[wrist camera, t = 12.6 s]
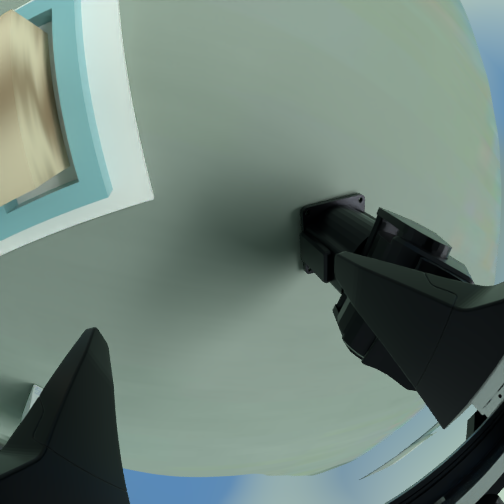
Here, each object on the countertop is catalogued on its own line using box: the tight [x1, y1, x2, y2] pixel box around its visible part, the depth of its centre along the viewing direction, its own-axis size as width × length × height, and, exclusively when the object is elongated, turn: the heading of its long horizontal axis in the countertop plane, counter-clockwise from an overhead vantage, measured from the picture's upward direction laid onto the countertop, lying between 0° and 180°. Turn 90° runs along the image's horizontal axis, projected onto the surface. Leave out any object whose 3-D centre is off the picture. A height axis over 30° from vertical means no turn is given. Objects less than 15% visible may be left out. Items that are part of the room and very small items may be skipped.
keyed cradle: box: [0, 0, 154, 256], centre depth 11 cm, size 14×18×3 cm
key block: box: [0, 9, 70, 207], centre depth 9 cm, size 10×4×6 cm, turn 9°
